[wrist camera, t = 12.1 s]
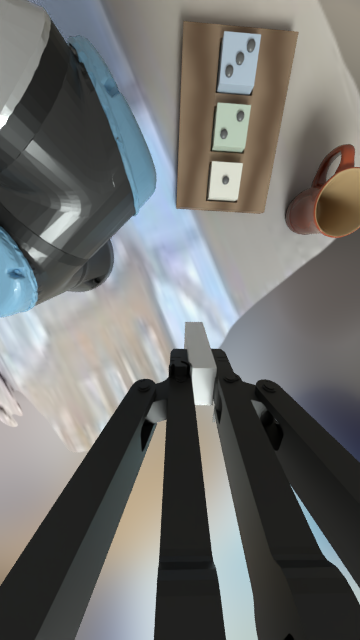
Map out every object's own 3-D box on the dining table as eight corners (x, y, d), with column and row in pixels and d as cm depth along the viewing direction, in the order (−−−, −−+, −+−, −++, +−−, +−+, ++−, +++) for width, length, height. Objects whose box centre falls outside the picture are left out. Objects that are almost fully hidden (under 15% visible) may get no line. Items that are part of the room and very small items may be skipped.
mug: (321, 235, 38) (368, 233, 29) (277, 241, 39) (310, 241, 29) (332, 162, 34) (393, 131, 24) (282, 168, 34) (323, 141, 25)
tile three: (215, 98, 30) (219, 81, 27) (219, 52, 28) (224, 28, 25) (246, 101, 31) (254, 84, 27) (252, 55, 29) (262, 32, 25)
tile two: (210, 154, 33) (214, 144, 30) (213, 115, 31) (218, 101, 28) (238, 156, 33) (245, 146, 30) (244, 117, 31) (251, 103, 28)
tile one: (206, 200, 36) (209, 196, 32) (209, 168, 34) (212, 160, 31) (232, 202, 36) (238, 198, 33) (237, 170, 34) (243, 162, 31)
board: (176, 208, 36) (176, 206, 34) (183, 35, 28) (183, 21, 26) (259, 213, 37) (264, 212, 35) (290, 45, 28) (298, 31, 27)
